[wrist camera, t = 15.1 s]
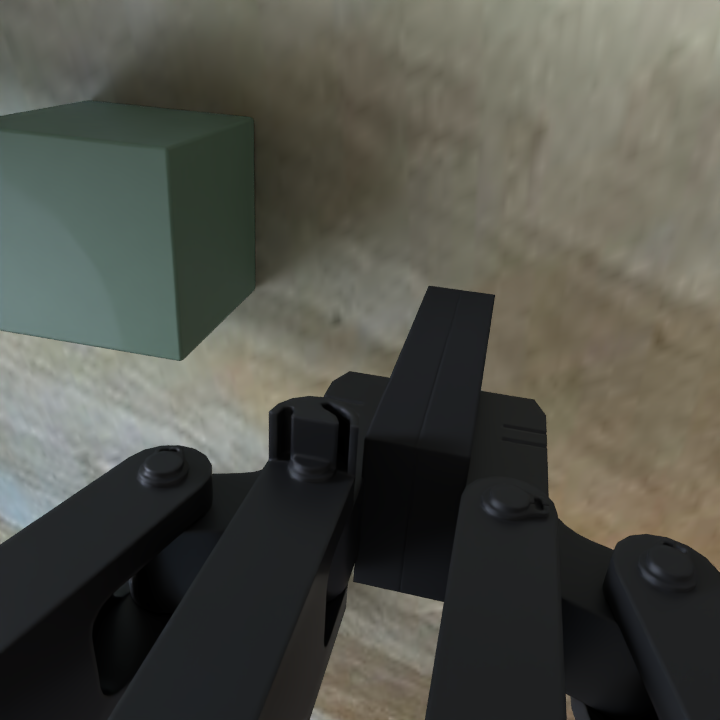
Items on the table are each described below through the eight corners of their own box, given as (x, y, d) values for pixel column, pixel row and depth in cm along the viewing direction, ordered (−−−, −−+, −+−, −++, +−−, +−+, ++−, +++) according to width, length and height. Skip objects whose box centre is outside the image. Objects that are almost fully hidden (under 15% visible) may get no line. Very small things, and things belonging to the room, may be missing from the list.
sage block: (254, 116, 18) (167, 147, 14) (256, 289, 20) (182, 362, 16) (87, 99, 19) (-46, 123, 14) (106, 267, 21) (-3, 331, 17)
